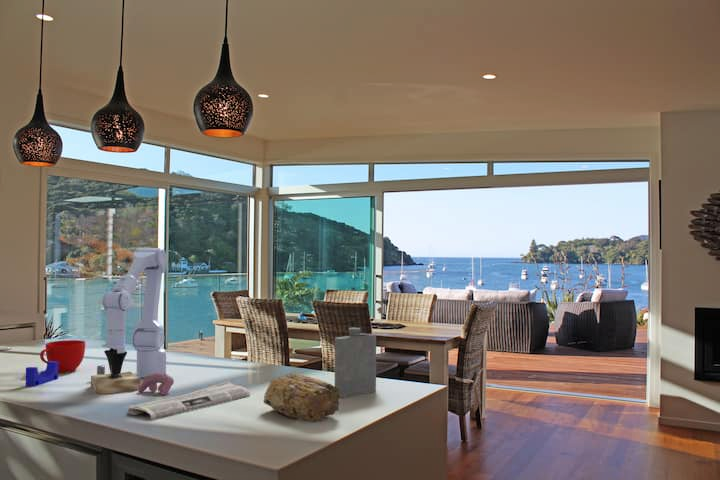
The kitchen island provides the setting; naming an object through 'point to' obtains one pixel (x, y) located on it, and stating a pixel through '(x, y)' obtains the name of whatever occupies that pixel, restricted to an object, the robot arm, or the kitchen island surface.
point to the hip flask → (355, 363)
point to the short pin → (100, 370)
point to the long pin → (114, 375)
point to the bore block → (115, 383)
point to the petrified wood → (302, 397)
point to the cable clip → (41, 374)
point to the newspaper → (191, 400)
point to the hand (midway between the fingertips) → (115, 373)
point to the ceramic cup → (65, 354)
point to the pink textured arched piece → (152, 383)
